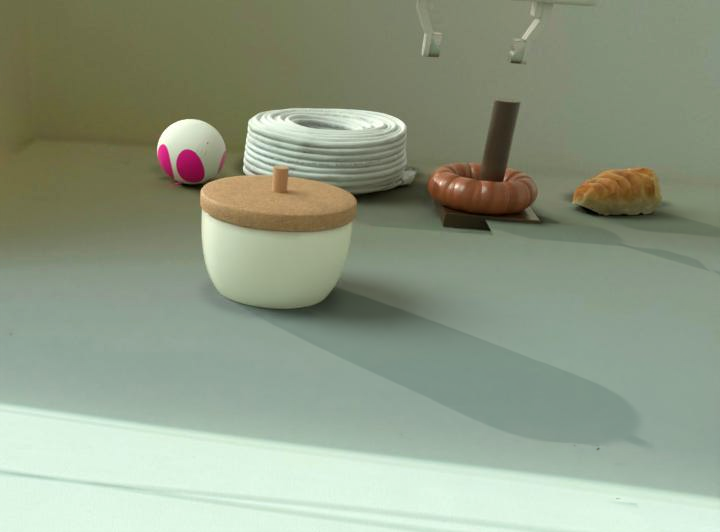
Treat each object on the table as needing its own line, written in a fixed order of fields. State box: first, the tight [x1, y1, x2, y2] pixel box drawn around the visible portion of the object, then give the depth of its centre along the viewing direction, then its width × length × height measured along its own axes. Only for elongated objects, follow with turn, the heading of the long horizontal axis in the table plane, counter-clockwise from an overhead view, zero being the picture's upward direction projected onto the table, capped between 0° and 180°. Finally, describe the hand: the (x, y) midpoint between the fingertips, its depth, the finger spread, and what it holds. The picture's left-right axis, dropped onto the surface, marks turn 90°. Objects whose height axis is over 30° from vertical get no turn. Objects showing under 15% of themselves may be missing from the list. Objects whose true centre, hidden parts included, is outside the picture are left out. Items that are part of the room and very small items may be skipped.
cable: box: [242, 107, 418, 196], centre depth 97 cm, size 18×18×6 cm
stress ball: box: [156, 118, 227, 188], centre depth 94 cm, size 8×8×7 cm
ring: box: [426, 162, 539, 215], centre depth 90 cm, size 10×10×3 cm
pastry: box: [571, 166, 663, 216], centre depth 96 cm, size 9×7×4 cm
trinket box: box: [199, 166, 358, 310], centre depth 64 cm, size 11×11×9 cm
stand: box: [433, 97, 541, 231], centre depth 88 cm, size 9×9×10 cm
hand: (473, 59), depth 83 cm, fingers open, 6 cm apart
